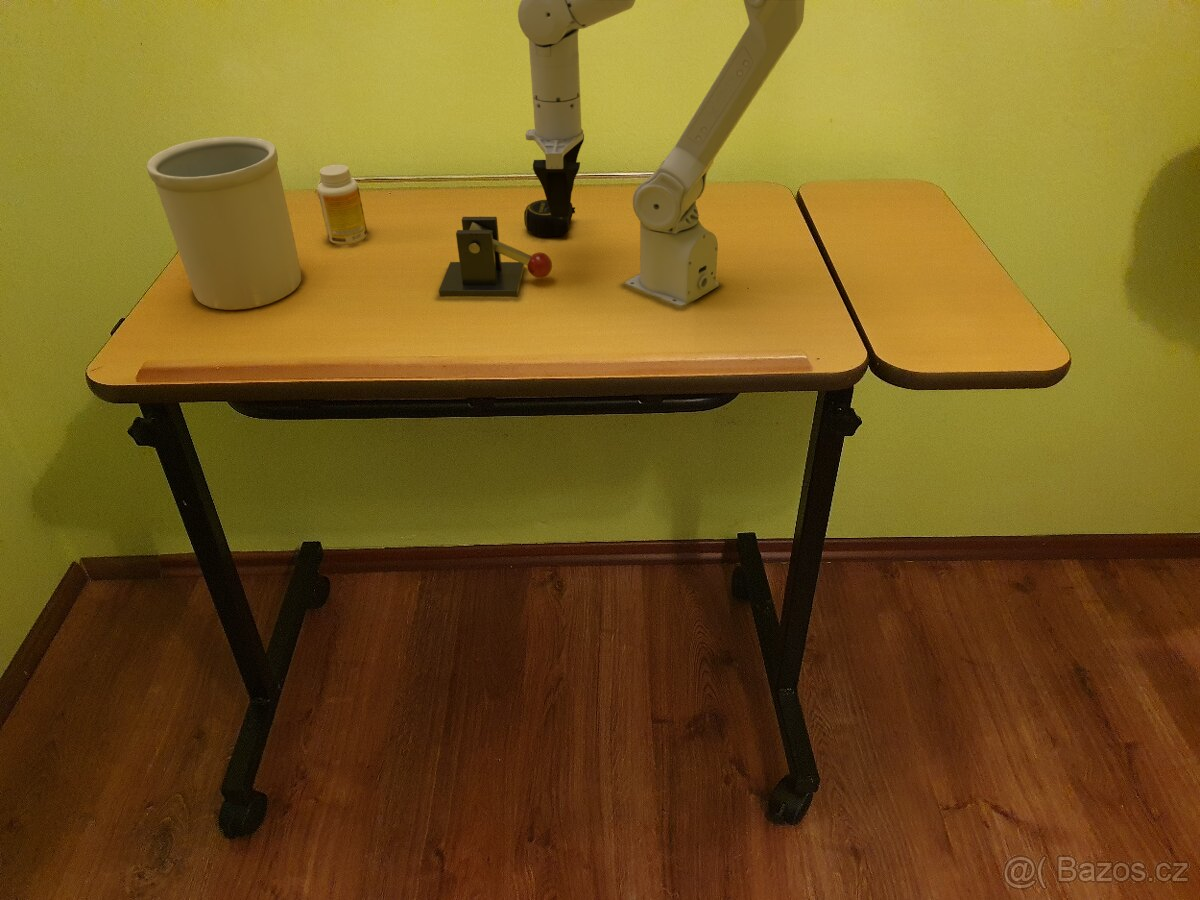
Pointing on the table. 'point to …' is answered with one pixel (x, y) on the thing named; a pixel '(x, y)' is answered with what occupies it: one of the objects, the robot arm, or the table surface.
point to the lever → (522, 256)
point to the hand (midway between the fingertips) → (562, 203)
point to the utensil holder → (229, 220)
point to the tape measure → (546, 220)
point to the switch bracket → (481, 264)
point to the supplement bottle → (341, 205)
